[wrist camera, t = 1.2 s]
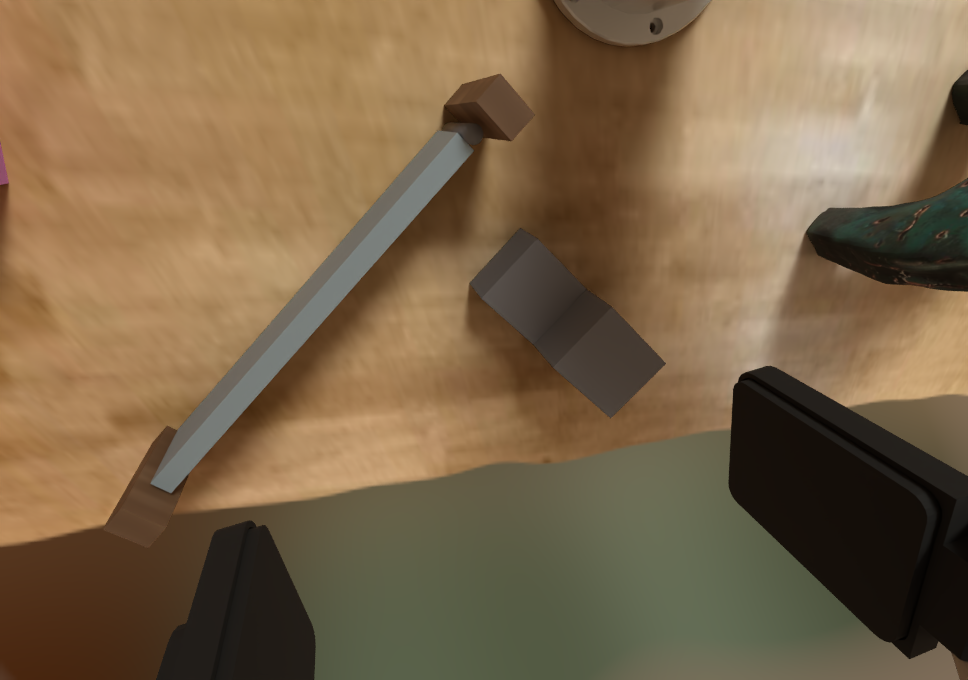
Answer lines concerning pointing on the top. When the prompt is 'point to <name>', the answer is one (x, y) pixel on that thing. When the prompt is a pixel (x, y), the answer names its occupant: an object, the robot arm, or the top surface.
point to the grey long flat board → (317, 298)
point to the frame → (142, 502)
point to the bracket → (2, 169)
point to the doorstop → (567, 323)
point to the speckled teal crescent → (904, 233)
